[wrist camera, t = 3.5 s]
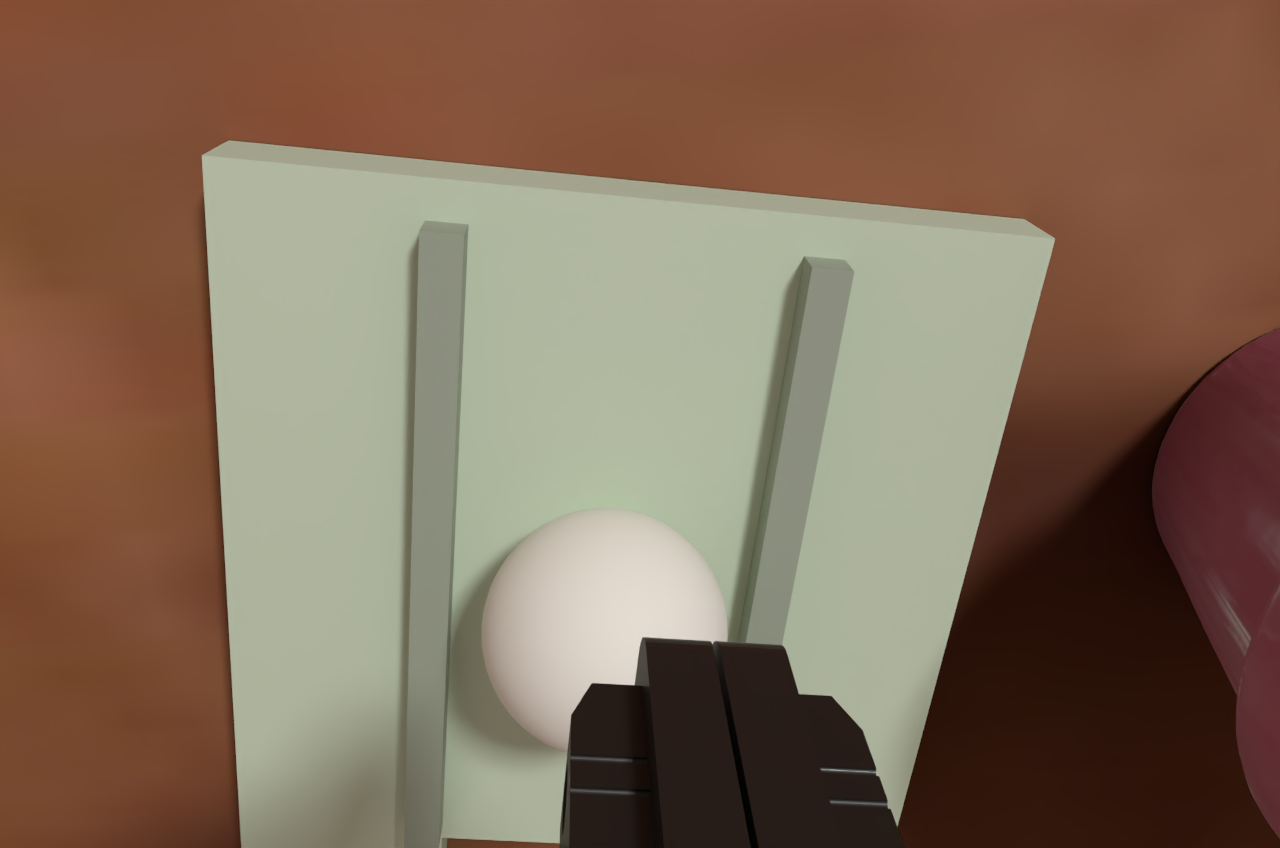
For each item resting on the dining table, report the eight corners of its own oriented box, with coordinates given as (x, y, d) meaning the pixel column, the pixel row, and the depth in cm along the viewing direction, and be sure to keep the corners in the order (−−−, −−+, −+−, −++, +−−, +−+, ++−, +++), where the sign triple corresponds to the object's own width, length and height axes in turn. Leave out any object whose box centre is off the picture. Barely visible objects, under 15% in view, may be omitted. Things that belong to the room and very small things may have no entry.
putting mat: (228, 140, 26) (186, 163, 23) (1024, 218, 28) (1072, 249, 25) (270, 1038, 39) (246, 1121, 36) (811, 1054, 41) (828, 1134, 38)
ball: (497, 457, 28) (476, 585, 22) (727, 475, 28) (762, 604, 23) (486, 650, 30) (464, 808, 24) (698, 663, 30) (723, 821, 25)
